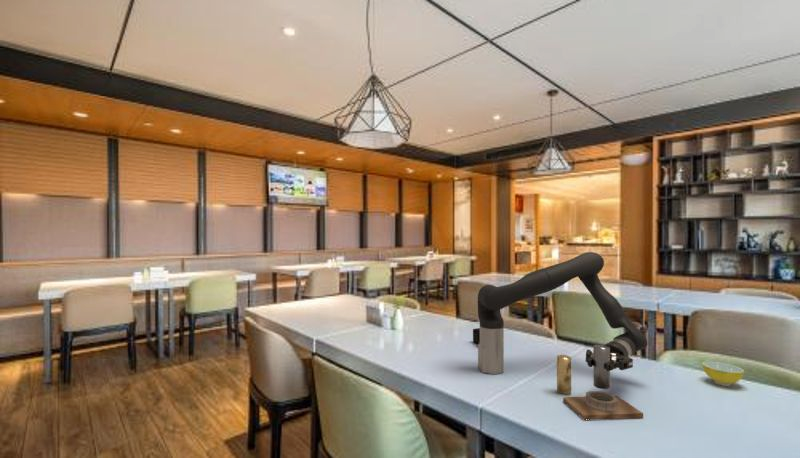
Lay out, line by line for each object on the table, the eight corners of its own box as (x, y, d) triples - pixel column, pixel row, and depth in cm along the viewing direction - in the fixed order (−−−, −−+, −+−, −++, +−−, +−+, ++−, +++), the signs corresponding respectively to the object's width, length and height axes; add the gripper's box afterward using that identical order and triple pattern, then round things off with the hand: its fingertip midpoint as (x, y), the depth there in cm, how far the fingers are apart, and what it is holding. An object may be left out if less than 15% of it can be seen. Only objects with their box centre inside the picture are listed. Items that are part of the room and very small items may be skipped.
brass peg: (561, 395, 126) (561, 359, 126) (554, 389, 131) (554, 355, 131) (573, 395, 127) (573, 359, 127) (566, 389, 131) (566, 354, 131)
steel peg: (599, 389, 114) (599, 349, 114) (590, 383, 118) (590, 345, 118) (613, 388, 114) (613, 349, 114) (604, 383, 119) (603, 344, 119)
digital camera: (470, 343, 186) (470, 329, 186) (479, 341, 188) (479, 327, 188) (484, 349, 176) (484, 334, 176) (493, 347, 179) (493, 332, 179)
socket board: (584, 420, 109) (584, 406, 110) (563, 401, 121) (563, 389, 121) (643, 418, 111) (643, 404, 111) (616, 400, 123) (616, 387, 123)
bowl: (733, 380, 140) (733, 363, 140) (750, 392, 129) (750, 374, 129) (697, 376, 144) (696, 359, 144) (710, 387, 133) (710, 370, 133)
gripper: (593, 337, 131) (574, 348, 119) (640, 346, 121) (625, 358, 109) (593, 358, 131) (574, 371, 119) (640, 369, 121) (625, 385, 109)
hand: (598, 365), depth 114 cm, fingers closed on steel peg, 4 cm apart
